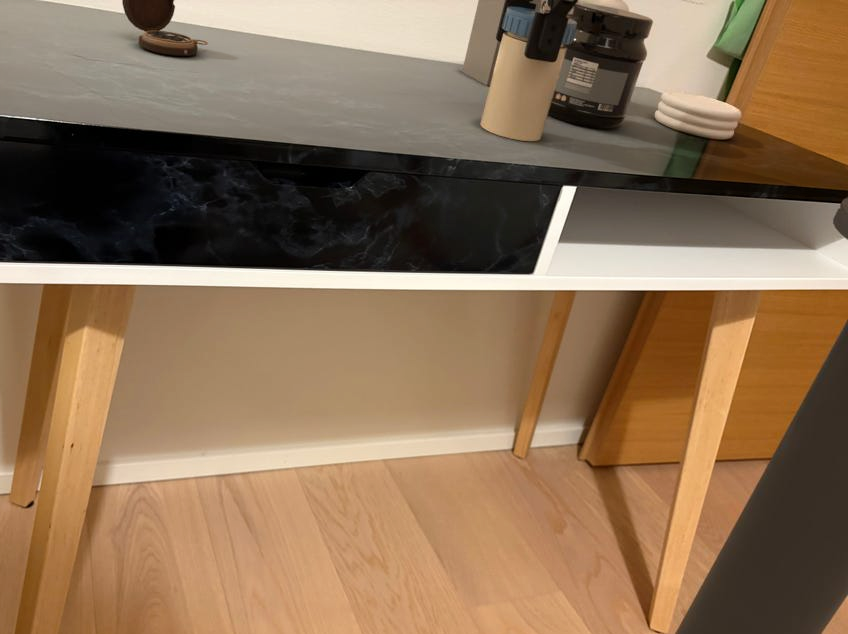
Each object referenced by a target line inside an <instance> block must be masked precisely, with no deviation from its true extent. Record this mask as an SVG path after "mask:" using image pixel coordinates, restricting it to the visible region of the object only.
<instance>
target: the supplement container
mask: <svg viewBox="0 0 848 634" xmlns="http://www.w3.org/2000/svg"><path fill="white" fill-rule="evenodd" d="M569 19H571V20H574V21H576V22H577V26H576V32H575V35H574V39H573V42H572V43H571V44H568V45H565V46H566V47H567V51H566V55H565V58H564V61H563V65H562V68H561V72H560V75H559V78H558V82H557V85H556V89H555V92H554V95H553V99H552V102H551V105H550V109H549V112H548V116H551V117H552V118H555V119H557V120H560V121H563V122H566V123H570V124H573V125H576V126H582V127H587V128H592V129H602V130H610V129H614V128H617V127H620V125H622V124H623V123H624V121H625V119H626V116H627V112H628V108H629V105H630V103H631V99H632V96H633V95H634V94H633V93H634V91H635V88H636V85H637V82H638V79H639V76H640V73H641V70H642V67H643V64H644V62H645V61H646V59H647V56H648V50H647V48H646V44H645V40H646V39H648V38H649V36H650V33H651V30H652V27H653V24H654V20H653V19H652V18H651V17H648V16H646V15H643V14H639V13H637V12H632V11H630V10H629V11H625V10H621V9H617V8H612V7H608V6H603V5H598V4H593V3H587V2H580V1H578V2H577V3H576V4H575V5H574V11H573V14H572V16H571V18H569Z"/></svg>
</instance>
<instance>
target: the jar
mask: <svg viewBox="0 0 848 634" xmlns="http://www.w3.org/2000/svg"><path fill="white" fill-rule="evenodd" d="M527 41H528V38H525V37H522V36H519V35H515V34H513V33H510V32H504V33H503V36H502V40H501V44H500V48H499V52H498V56H497V60H496V64H495V68H494V72H493V76H492V80H491V84H490V86H489V88H488V91H487V96H486V100H485V104H484V107H483V111H482V115H481V119H480V127H481V128H482V129H484V130H485V131H487V132H489V133H491V134H494V135H496V136H500V137H502V138H507V139H511V140H516V141H522V142H537V141H540V140H541V139H542V136H543V133H544V130H545V127H546V126H545V125H546V123H547V119H548V116H549V115H548V112H549V109H550V105H551V102H552V99H553V95H554V92H555V89H556V85H557V82H558V78H559V75H560V72H561V68H562V65H563V61H564V58H565V55H566V51H567V47H566V46H565V45H563V44H561V47H560V51H559V54H558V58H557V60H556V61H555V62H546V61H540V60H534V59H528V58H527V57H525V55H524V52H525V49H526V45H527Z"/></svg>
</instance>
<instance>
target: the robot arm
mask: <svg viewBox="0 0 848 634" xmlns="http://www.w3.org/2000/svg"><path fill="white" fill-rule="evenodd" d="M533 1H534V0H505V3H504V7H503V11H502V15H501V19H500V23H499V27H498V31H497V35H496V39H497V41H499V42H501V40H502V36H503V33H504V32H508V31H506V30H504V29H503V28H502V24H503V20H504V16H505V12H506V11H507V7H511V6H512V7H522V8H528V9H534V10H535V9H536V5H537V4H534V3H530V2H533ZM577 2H578V0H541V13H540V12H535V15H534V19H533V23H532V26H531V30H530V34H529V38H528V41H527V45H526V49H525V52H524V55H525V57H527V58H528V59H534V60H540V61H546V62H555V61H556V60H557V58H558V54H559V51H560V47H561V44H562V40H563V37H564V33H565V30H566V27H567V23H568V20H569V18H571V16H572V14H573V11H574V5H575V4H576V3H577Z"/></svg>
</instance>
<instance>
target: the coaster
mask: <svg viewBox="0 0 848 634" xmlns="http://www.w3.org/2000/svg"><path fill="white" fill-rule="evenodd" d="M654 118H655V120H656V122H658V123H660V124H662V125H664V126H665V127H668V128H670V129H673V130H675V131H677V132H678V131H679V132H682V133H685V134H689V135H692V136H695V137H700V138H704V139H712V140H722V141H724V140H729V139H731V138H733V136H734V134H735V129H736V128H737V127H738V124H739V123H738V122H739V120H740V119H741V118H742V112H741V110H740V109H739V108H738V107H735V106H734V105H731V104H730V103H727V102H724V101H721V100H718V99H715V98H711V97H709V96H705V95H701V94H697V93H691V92H687V91H680V90H667V91H664V92H663V93H662V94H661V95H660V101H659V103H658V104H657V109H656V111H655V112H654Z"/></svg>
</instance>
